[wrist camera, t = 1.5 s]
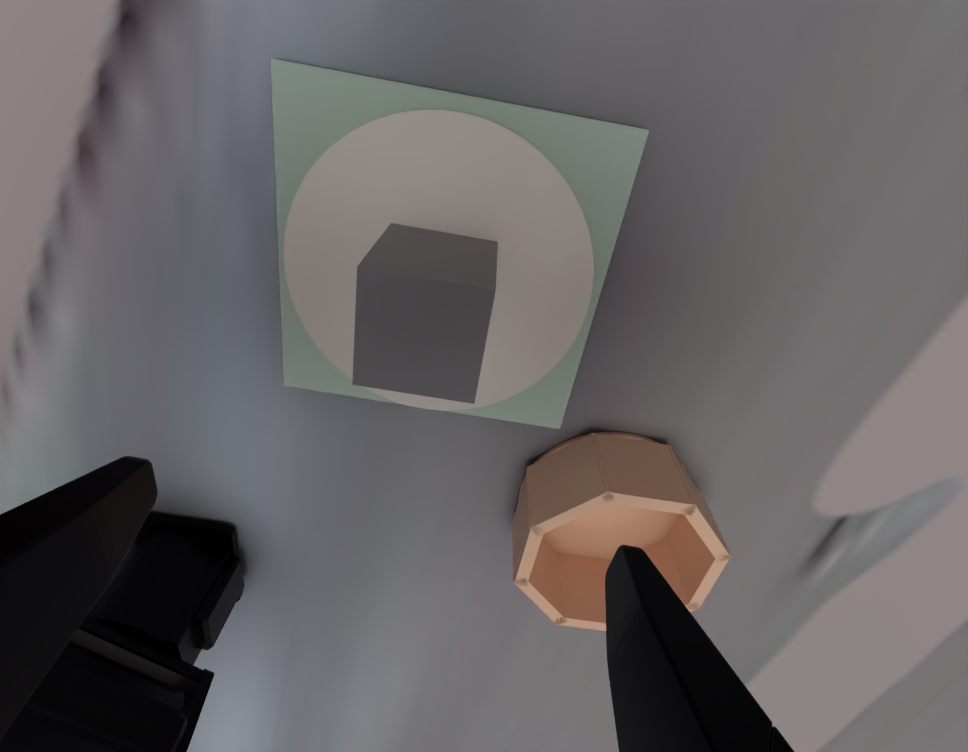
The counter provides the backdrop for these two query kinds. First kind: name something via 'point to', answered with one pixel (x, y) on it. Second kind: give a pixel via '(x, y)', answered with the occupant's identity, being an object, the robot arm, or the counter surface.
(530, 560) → the bowl
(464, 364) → the lid
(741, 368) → the counter surface
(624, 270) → the counter surface
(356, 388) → the mat
